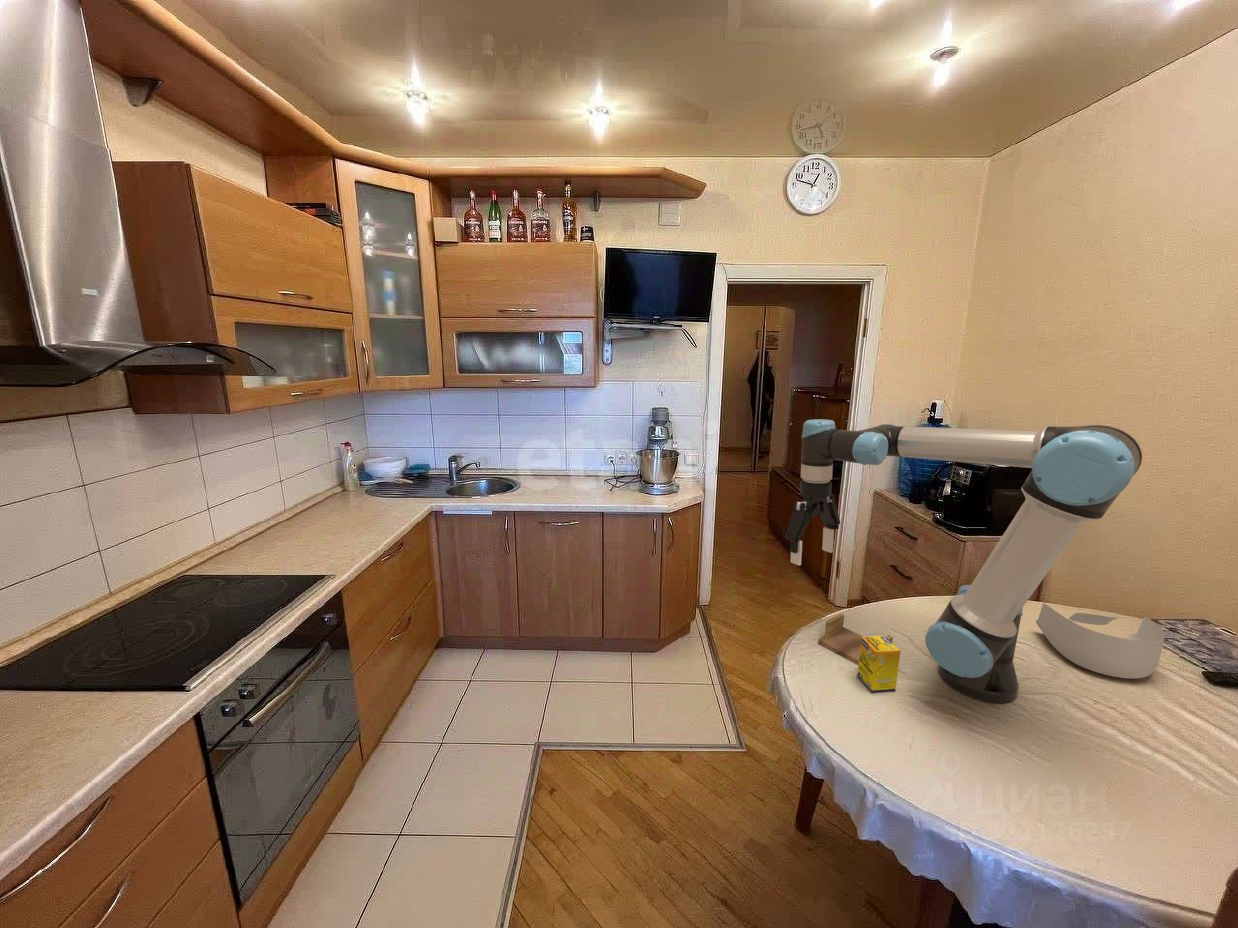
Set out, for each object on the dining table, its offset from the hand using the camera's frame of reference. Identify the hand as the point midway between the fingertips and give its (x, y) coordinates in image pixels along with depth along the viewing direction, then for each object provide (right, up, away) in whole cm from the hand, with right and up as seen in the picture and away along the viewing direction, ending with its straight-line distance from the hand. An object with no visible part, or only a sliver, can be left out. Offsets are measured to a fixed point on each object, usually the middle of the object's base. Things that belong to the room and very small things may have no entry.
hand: (812, 557), depth 127 cm
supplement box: (+9, -27, -15) cm, 32 cm away
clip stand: (+11, -24, -2) cm, 27 cm away
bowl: (+68, -25, -8) cm, 73 cm away
